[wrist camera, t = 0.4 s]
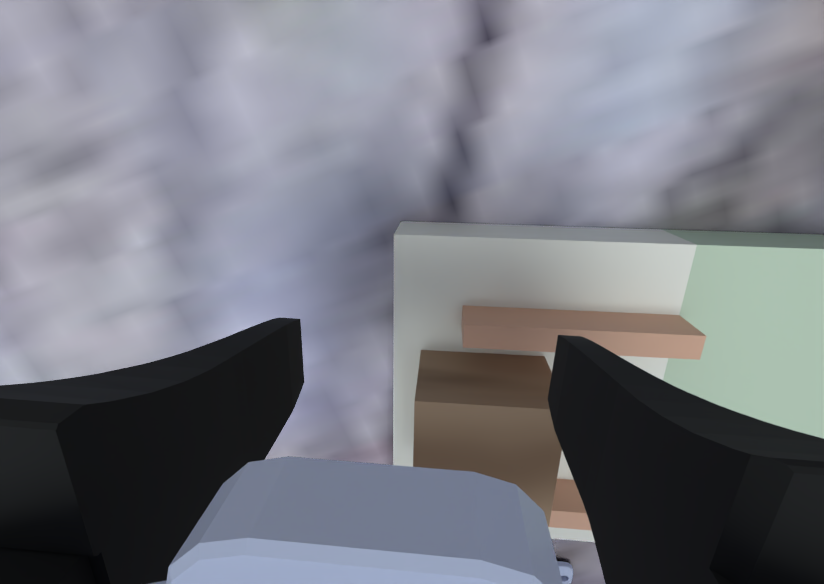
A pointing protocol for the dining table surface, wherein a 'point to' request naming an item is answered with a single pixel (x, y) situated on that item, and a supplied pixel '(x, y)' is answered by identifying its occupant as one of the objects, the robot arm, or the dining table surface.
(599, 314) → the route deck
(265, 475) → the robot arm
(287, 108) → the dining table surface
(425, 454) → the walnut block
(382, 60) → the dining table surface
